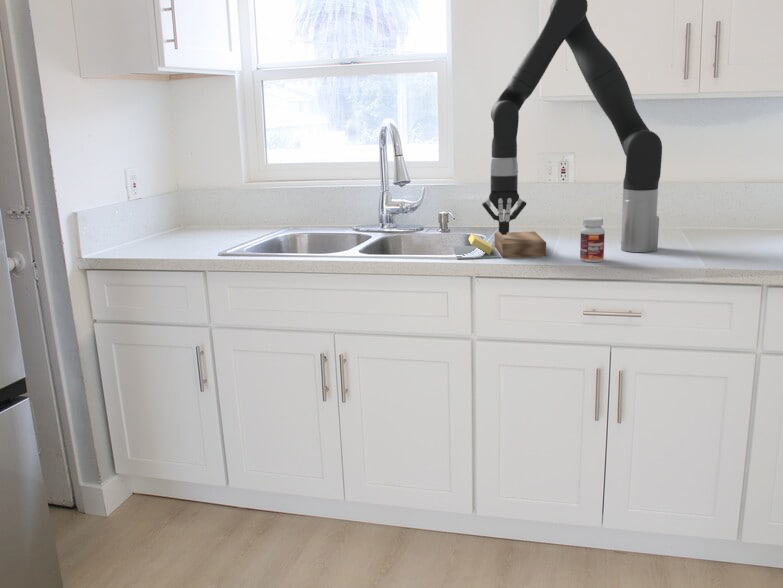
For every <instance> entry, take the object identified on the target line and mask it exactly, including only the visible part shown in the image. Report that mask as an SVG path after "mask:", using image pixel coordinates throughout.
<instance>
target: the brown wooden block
mask: <svg viewBox="0 0 783 588" xmlns="http://www.w3.org/2000/svg"><path fill="white" fill-rule="evenodd" d="M494 247H495V249H496V250H497V252H498V253H499V255H500V256H501V258H502V259H510V258H515V259H516V258H536V257H537V258H538V257H540V258H541V257H547V242H546V240H544V238H542V237H541V236H540V235H539V234H538V233H537V232H536V231H514V232H513V231H512V232H511V231H509V232H508V233H507V235H501V233H500V232H494Z"/></svg>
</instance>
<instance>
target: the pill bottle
mask: <svg viewBox="0 0 783 588" xmlns="http://www.w3.org/2000/svg"><path fill="white" fill-rule="evenodd" d="M603 225H604V218H603V217H599V216H598V217H596V216H588V217H583V219H582V226H584V227H582V228H581V229H580V244H579V245H580V250H579V251H580V252H579V259H580V261H582V262H583V263H584V262H586V263H600V262H602V261H604V260H605V258H604V257H605V235H606V232H605V229H604V228H603Z"/></svg>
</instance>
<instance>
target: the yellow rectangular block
mask: <svg viewBox="0 0 783 588" xmlns="http://www.w3.org/2000/svg"><path fill="white" fill-rule="evenodd" d="M467 240H468V241H469V243H470V246H474V247H476V248H478V249H480V250H482V251H483V252H485V253H487V254H489V255H490V253H491V251H492V250H493V248H492V246H491V245H492V244H491V243H490V242H488V241H486V240H485V239H483V238H481V237H480V236H477V235H476V234H474V233H472V232H471V234H470V235H469V237H468V239H467Z"/></svg>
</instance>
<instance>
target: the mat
mask: <svg viewBox="0 0 783 588" xmlns="http://www.w3.org/2000/svg"><path fill="white" fill-rule="evenodd" d="M490 245H491V246H492V248H493V250H492V251H491V253H490V255H489V254H487V253H485V254H484V255H483V256H481V257H475V258H473V257H462V256H456V255H463V256H465V255H464V254H468V253H471V252H472V251H474V250H475V249H476V247H474V246H473V245H458V246H457V245H455V246H452V248H453V251H454V253H455V256H456V259H457V260H478V259H479V260H480V259H501V258H502V256H501V255H500V253H499V252H498V250H497V249H496V247H495V245H493V244H490Z"/></svg>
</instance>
